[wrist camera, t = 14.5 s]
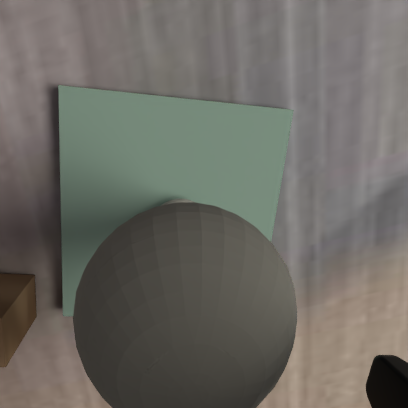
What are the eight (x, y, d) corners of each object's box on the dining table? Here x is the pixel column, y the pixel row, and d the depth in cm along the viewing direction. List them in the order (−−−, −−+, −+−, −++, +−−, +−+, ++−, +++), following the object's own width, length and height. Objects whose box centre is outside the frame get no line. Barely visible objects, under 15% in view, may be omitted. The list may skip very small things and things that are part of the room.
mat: (254, 315, 19) (257, 322, 18) (66, 309, 18) (62, 316, 17) (289, 109, 16) (293, 110, 15) (62, 85, 15) (58, 85, 14)
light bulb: (113, 274, 17) (39, 504, 7) (118, 152, 15) (32, 249, 6) (233, 281, 18) (307, 498, 8) (251, 165, 16) (372, 271, 6)
